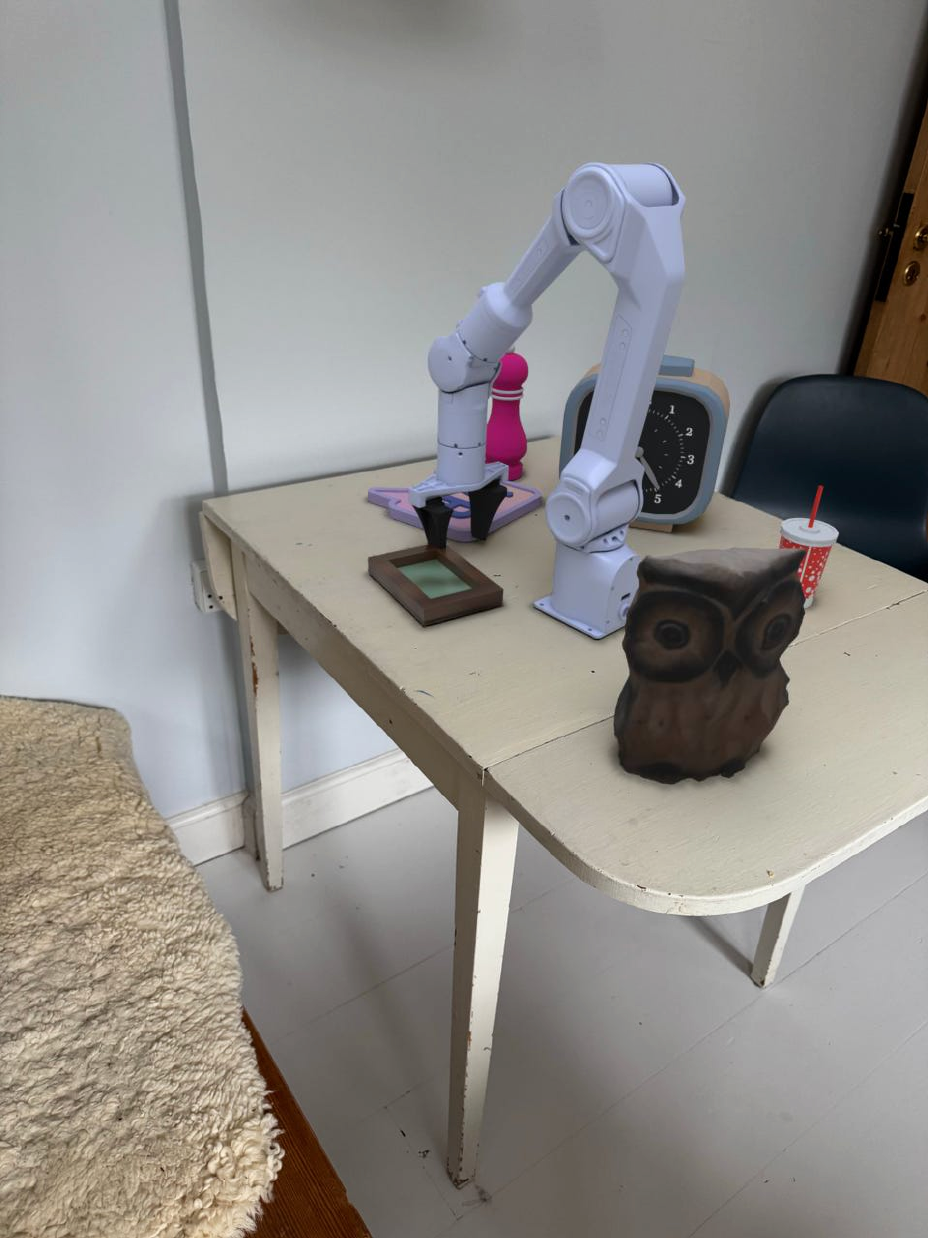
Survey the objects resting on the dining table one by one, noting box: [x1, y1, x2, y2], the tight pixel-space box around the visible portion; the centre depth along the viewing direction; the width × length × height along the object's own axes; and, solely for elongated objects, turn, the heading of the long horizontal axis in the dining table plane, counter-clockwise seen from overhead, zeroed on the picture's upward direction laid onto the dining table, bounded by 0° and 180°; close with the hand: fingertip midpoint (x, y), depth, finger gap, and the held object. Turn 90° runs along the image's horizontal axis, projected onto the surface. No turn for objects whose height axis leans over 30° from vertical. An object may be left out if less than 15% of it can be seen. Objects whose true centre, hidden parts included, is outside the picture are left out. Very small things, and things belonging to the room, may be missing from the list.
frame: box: [367, 543, 504, 626], centre depth 96 cm, size 14×10×2 cm
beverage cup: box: [778, 485, 840, 609], centre depth 94 cm, size 6×6×14 cm
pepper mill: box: [485, 343, 529, 482], centre depth 125 cm, size 7×7×20 cm
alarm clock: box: [558, 354, 731, 533], centre depth 112 cm, size 21×10×22 cm, turn 72°
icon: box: [367, 480, 543, 543], centre depth 119 cm, size 19×2×20 cm
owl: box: [613, 546, 807, 785], centre depth 68 cm, size 13×13×20 cm
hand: (458, 545), depth 105 cm, fingers open, 6 cm apart
